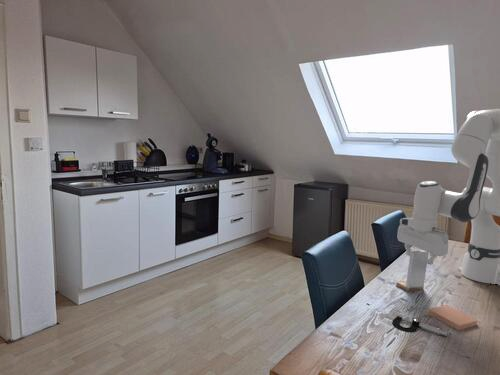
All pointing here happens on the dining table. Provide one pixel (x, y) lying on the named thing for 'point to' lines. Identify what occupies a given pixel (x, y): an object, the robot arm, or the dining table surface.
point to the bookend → (415, 272)
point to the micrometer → (417, 326)
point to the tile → (452, 317)
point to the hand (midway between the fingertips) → (419, 259)
